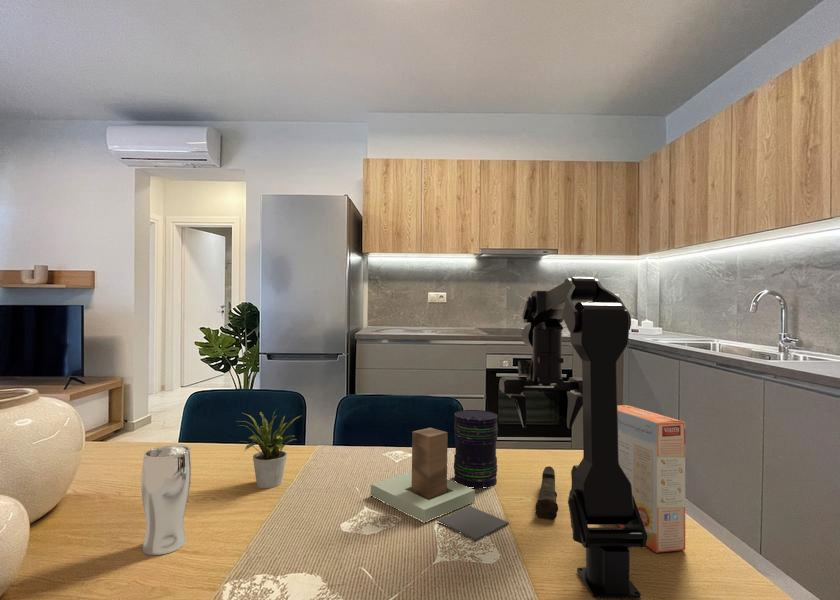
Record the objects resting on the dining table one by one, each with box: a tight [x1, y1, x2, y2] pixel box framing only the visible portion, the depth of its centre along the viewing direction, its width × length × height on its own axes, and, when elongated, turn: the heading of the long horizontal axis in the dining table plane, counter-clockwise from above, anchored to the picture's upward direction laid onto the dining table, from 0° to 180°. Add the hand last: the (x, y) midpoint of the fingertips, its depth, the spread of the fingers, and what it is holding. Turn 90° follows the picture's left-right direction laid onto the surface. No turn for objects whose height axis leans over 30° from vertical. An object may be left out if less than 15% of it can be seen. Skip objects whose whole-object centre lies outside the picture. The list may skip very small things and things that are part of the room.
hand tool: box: [535, 465, 559, 521], centre depth 91 cm, size 19×4×5 cm, turn 160°
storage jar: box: [453, 409, 499, 488], centre depth 102 cm, size 10×10×15 cm
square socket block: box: [370, 471, 476, 522], centre depth 91 cm, size 16×14×2 cm
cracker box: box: [617, 404, 686, 554], centre depth 78 cm, size 14×6×21 cm, turn 12°
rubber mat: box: [437, 505, 509, 542], centre depth 80 cm, size 9×9×1 cm
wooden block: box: [411, 427, 449, 500], centre depth 89 cm, size 5×5×14 cm
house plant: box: [235, 409, 303, 489], centre depth 98 cm, size 14×14×16 cm
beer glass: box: [140, 444, 192, 556], centre depth 72 cm, size 7×7×15 cm
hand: (546, 427), depth 91 cm, fingers open, 9 cm apart
